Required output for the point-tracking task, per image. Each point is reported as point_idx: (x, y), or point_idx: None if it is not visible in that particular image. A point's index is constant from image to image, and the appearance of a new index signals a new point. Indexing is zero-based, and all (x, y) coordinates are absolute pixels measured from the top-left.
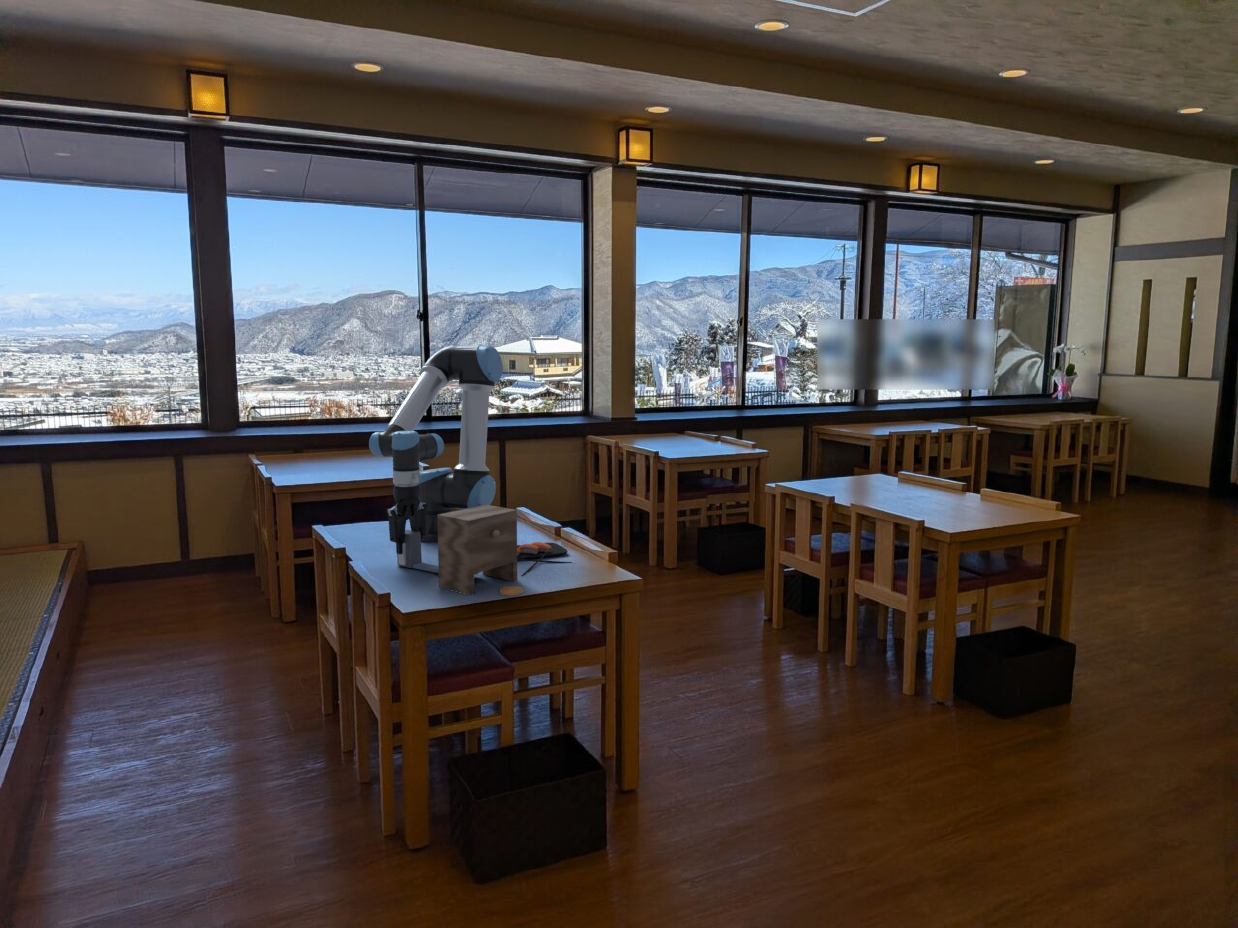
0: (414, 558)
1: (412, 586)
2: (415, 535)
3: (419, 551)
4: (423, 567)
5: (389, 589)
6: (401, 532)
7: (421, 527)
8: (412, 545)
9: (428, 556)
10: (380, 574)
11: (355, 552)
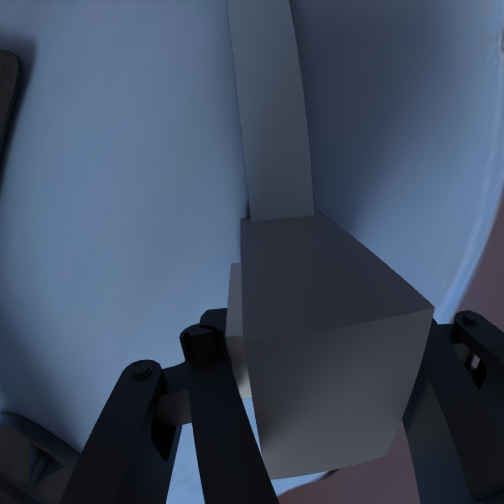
0: (304, 224)
1: (440, 16)
2: (333, 308)
3: (259, 242)
4: (305, 116)
5: (497, 65)
6: (467, 372)
7: (147, 440)
8: (348, 255)
9: (117, 348)
10: (442, 245)
11: (288, 487)
